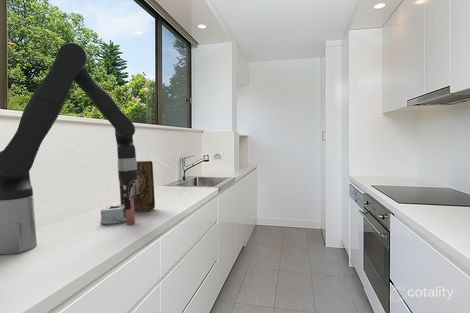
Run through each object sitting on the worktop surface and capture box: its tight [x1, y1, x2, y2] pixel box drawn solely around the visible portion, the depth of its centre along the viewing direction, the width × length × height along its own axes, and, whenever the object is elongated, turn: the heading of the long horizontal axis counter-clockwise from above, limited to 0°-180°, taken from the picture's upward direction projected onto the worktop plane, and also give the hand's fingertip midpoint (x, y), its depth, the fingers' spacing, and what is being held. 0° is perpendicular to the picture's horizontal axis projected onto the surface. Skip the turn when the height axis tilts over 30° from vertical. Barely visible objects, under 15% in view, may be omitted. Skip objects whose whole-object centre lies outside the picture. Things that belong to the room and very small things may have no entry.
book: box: [118, 160, 156, 213], centre depth 131 cm, size 16×6×25 cm, turn 84°
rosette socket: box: [100, 204, 127, 226], centre depth 115 cm, size 12×12×6 cm
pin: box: [126, 191, 136, 226], centre depth 109 cm, size 4×4×14 cm
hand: (130, 206), depth 110 cm, fingers open, 8 cm apart
